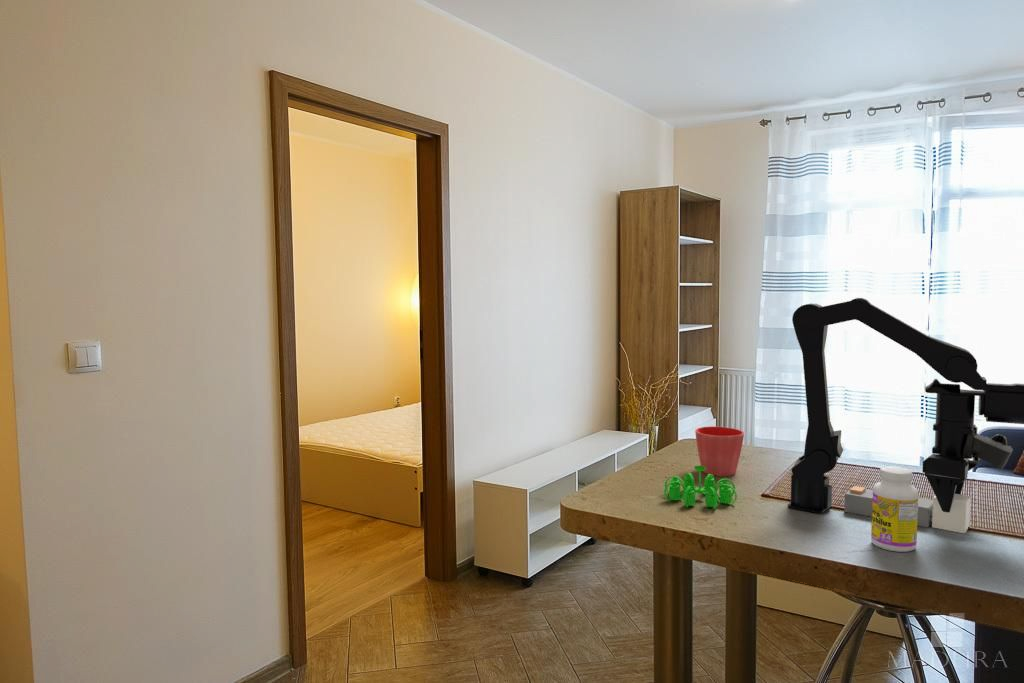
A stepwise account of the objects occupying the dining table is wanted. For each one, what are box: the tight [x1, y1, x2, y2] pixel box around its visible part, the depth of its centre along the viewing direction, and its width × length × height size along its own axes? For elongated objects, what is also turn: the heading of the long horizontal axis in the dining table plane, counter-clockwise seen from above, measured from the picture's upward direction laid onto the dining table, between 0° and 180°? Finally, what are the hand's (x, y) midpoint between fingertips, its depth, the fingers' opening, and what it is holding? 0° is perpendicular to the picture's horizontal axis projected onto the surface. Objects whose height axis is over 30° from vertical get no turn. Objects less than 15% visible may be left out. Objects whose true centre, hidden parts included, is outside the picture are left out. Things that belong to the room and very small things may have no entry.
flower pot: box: [694, 426, 745, 477], centre depth 164 cm, size 11×11×10 cm
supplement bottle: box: [870, 466, 920, 553], centre depth 117 cm, size 7×7×13 cm
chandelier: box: [663, 465, 738, 510], centre depth 143 cm, size 15×15×7 cm
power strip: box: [844, 485, 933, 528], centre depth 132 cm, size 14×6×4 cm, turn 49°
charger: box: [930, 494, 972, 534], centre depth 127 cm, size 8×5×6 cm, turn 49°
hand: (950, 505), depth 126 cm, fingers open, 9 cm apart
